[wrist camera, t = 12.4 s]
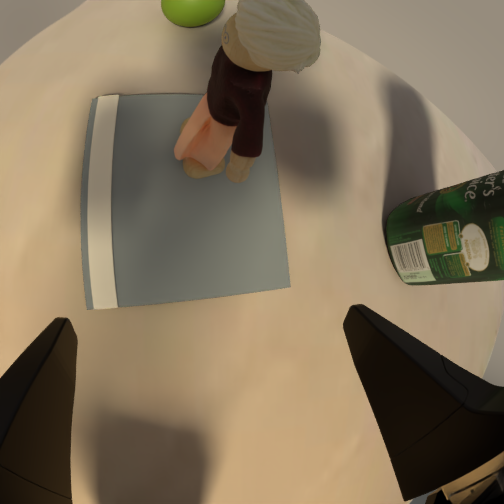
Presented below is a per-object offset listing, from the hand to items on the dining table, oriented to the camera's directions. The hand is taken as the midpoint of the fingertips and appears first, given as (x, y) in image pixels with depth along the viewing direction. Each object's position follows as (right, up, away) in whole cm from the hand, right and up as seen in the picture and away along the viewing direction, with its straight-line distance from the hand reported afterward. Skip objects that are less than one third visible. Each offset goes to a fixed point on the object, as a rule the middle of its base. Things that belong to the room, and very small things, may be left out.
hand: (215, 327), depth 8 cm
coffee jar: (+17, +3, +16) cm, 24 cm away
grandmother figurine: (-2, +8, +9) cm, 13 cm away
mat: (-3, +6, +9) cm, 11 cm away
